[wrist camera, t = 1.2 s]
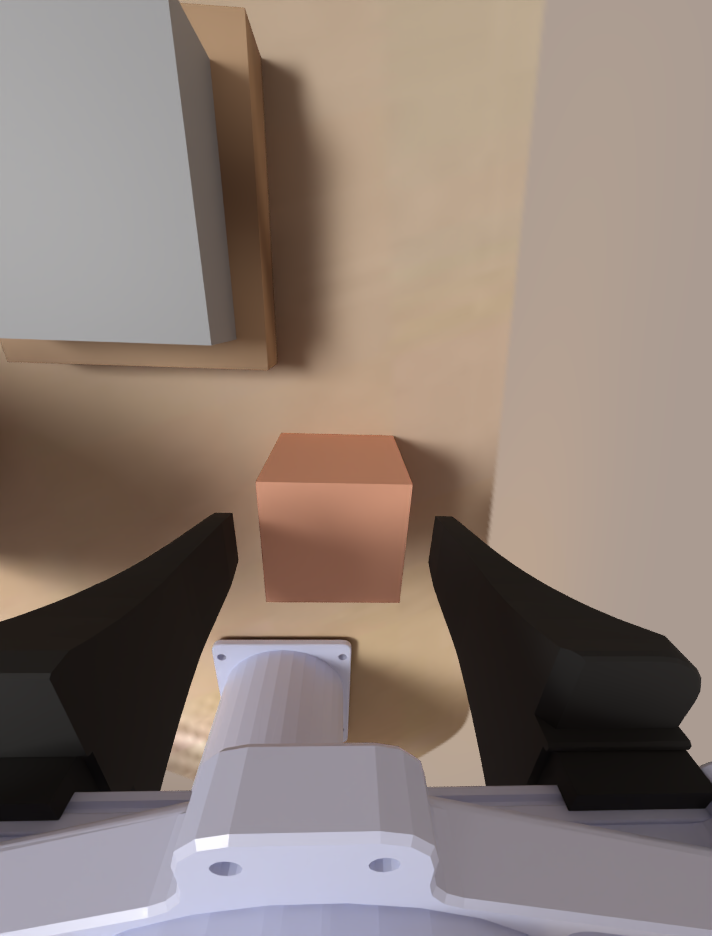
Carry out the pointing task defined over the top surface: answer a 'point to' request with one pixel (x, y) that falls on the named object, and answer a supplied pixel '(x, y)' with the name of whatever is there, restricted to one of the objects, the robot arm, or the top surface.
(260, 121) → the walnut slab
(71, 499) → the top surface
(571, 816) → the robot arm
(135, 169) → the grey slab
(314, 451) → the terracotta cube
